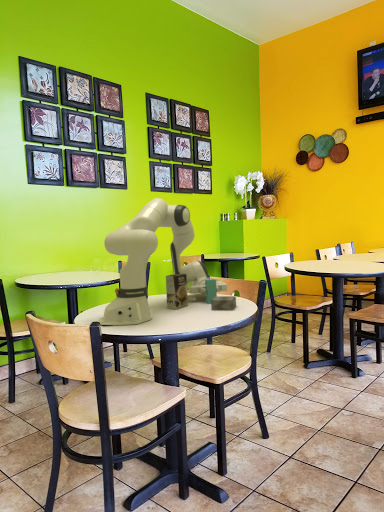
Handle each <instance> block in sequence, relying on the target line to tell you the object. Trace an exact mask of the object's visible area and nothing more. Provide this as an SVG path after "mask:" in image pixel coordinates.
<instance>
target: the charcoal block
mask: <svg viewBox="0 0 384 512" xmlns="http://www.w3.org/2000/svg"><path fill="white" fill-rule="evenodd" d="M210 306H211V308H210V310H211V311H224V312H225V311H229V312H230V311H233V312H234V310H235V308H236V307H237V297H236V295H232V296H227V295H226V296H223V295H221V296H219V295H217V296H215V297H214V298H213V299H212V300H211V304H210Z"/></svg>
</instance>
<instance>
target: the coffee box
mask: <svg viewBox="0 0 384 512" xmlns="http://www.w3.org/2000/svg"><path fill="white" fill-rule="evenodd" d="M165 284H166V285H165V288H166V290H165V291H166V308H167V309H170V310H180V309H182V308H186V307H188V306H189V299H188V298H189V297H188V290H187V288H188V284H187V274H174V275H173V274H169V275H165Z"/></svg>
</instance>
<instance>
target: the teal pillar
mask: <svg viewBox="0 0 384 512" xmlns="http://www.w3.org/2000/svg"><path fill="white" fill-rule="evenodd" d="M216 280H217V279H216V278H207V279H205V287H206V289H207V292H206V295H205V303H206V302H207V303H206V304H208V305H211V300H212V299H213V298H214V297H215V296H218V292H217V290H216Z"/></svg>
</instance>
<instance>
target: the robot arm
mask: <svg viewBox="0 0 384 512" xmlns="http://www.w3.org/2000/svg"><path fill="white" fill-rule="evenodd" d="M158 228H171V232H172V235H173V237H172V241H171V243H170V244H169V247H170V256H171V257H170V258H171V265H172V266H171V267H172V275H174V274H187V285H188V284H189V283H191V284H190V285H188V287H187V291H188V292H189V294H192V295H193V294H200V295H202V296H206V292H207V289H206V287H205V279H209V271H208V269H207V267H206V265H205V263H203V262H202V261H200V260H194V261H192V262H190V263H188V264H185V265H183V266H181V265H182V264H181V254H182V253H183V252H184V251H185V250H186V249H187V248H189V246H190V245H191V244H192V243H193V241H195V230H194V227H193V224H192V221H191V212H190V210H189V208H188V207H187V206H186V205H185V204H184V205H182V204H168V203H167V202H166V201H165V200H164V199H163V198H160V197H154V198H153V199H151V200H149V201H148V202H147V203H146V204H145V205H144V206H143V207H142V208H141V209H140V210H139V211H138V213H137V214H136V215H135V216H134V217H133V218H132V219H131V220H129V221H128V222H127V223H125V224H123V225H122V226H121V227H119V228H118V229H115V230H113V231H111V232H108V233H107V234H106V236H105V238H104V242H103V243H104V248H105V250H106V251H107V253H109V254H111V255H115V256H128V257H127V261H126V263H125V265H123V266H122V267H121V268H120V270H119V282H120V284H119V285H120V287H119V288H117V287H116V288H115V289H114V293H115V298H114V299H113V300H112V301H110V303H108V304H107V305H106V307H105V308H104V312H103V317H101V318H100V319H99V320H98V323H99V322H100V323H101V325H100V326H102V325H113V326H130V325H139V324H142V323H144V322H148V321H151V320H152V319H153V316H152V314H151V310H150V306H149V300H148V299H149V289H148V286H147V272H146V271H147V266H148V265H147V264H148V262H149V259H150V257H151V256H152V255H153V254H154V253H155V252H156V250H157V249H158V245H159V239H158V236H157V234H156V231H157V230H158ZM216 290H217V293H220V292H226V291H228V284H227V283H226V282H224V281H221V280H220V279H216Z"/></svg>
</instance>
